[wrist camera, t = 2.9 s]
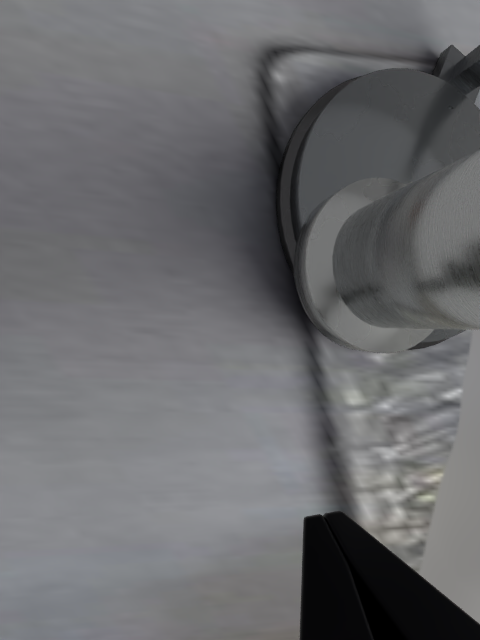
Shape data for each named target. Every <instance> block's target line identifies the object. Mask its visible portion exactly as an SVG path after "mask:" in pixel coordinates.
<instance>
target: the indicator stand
mask: <svg viewBox="0 0 480 640" xmlns="http://www.w3.org/2000/svg"><path fill="white" fill-rule="evenodd" d="M432 75H434V76H436V77H438V78H440V79H442V80H444V81H446V82H448V83H449V84H451V85H452V86H454V87H455V88H457V89H458V90H459V91H461V92H462V93H463V94H464V95H465V96H466V97H468V98H469V99H470V100H471V101H472V102H473V103H475V100H476V97H477V95H478V92H479V89H480V45H479V46H478V47H477V48H475V49H474V50H473V51H471V52H470V53H469V54H468V55H466V56H464V55H463V54H462V53H461V52H460V51H459V50H458V49H456V48H455V47H454V46H453V45H450V46H449V47H448V48H447V49H446V50H445V51H443V52H442V53H441V54H440V57H439V59H438V62H437V64H436V67H435V69H434V72H433V74H432Z"/></svg>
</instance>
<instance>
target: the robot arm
mask: <svg viewBox="0 0 480 640" xmlns="http://www.w3.org/2000/svg"><path fill="white" fill-rule="evenodd" d="M300 640H480V624H479V623H478V622H476V621H475V620H474V619H473V618H472V617H470V616H469V615H468V614H467V613H465V612H464V611H463V610H462V609H461V608H459V607H458V606H457V605H456V604H455V603H453V602H452V601H451V600H450V599H448V598H447V597H446V596H445V595H444V594H442V593H441V592H440V591H439V590H437V589H436V588H435V587H434V586H433V585H431V584H430V583H429V582H428V581H426V580H425V579H424V578H423V577H422V576H420V575H419V574H418V573H417V572H415V571H414V570H413V569H412V568H411V567H409V566H408V565H407V564H406V563H405V562H403V561H402V560H401V559H400V558H398V557H397V556H396V555H395V554H394V553H392V552H391V551H390V550H389V549H387V548H386V547H385V546H384V545H383V544H381V543H380V542H379V541H378V540H376V539H375V538H374V537H373V536H372V535H370V534H369V533H368V532H367V531H365V530H364V529H363V528H362V527H361V526H359V525H358V524H357V523H356V522H354V521H353V520H352V519H351V518H350V517H348V516H347V515H346V514H345V513H343V512H341V511H336V512H330V513H325V514H324V515H323V516H322V515H320V514H319V515H313V516H307V517H305V518H304V525H303V555H302V586H301V617H300Z"/></svg>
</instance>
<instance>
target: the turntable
mask: <svg viewBox="0 0 480 640" xmlns="http://www.w3.org/2000/svg"><path fill="white" fill-rule="evenodd" d="M478 150H480V110H479V109H478V107H477V106H476V105H475V104H474V103H473V102H472V101H471V100H470V99H469V98H468V97H466V96H465V95H464V94H463V93H462V92H461V91H459V90H458V89H457V88H455V87H454V86H452V85H451V84H449V83H448V82H446V81H444V80H442V79H440V78H438V77H436V76H434V75H431V74H428V73H425V72H422V71H417V70H411V69H396V68H392V69H385V70H379V71H375V72H373V73H370V74H367V75H364V76H360V77H357V78H354V79H351V80H348V81H346V82H344V83H342V84H340V85H338V86H336V87H335V88H333V89H331V90H330V91H329V92H328V93H326V94H325V95H324V96H323V97H321V98H320V99H319V100H318V101H317V102H316V103H315V104H314V106H313V107H312V108H311V109H310V110H309V111H308V112H307V113H306V115H305V116H304V117H303V118H302V120H301V121H300V123H299V124H298V126H297V127H296V129H295V130H294V132H293V134H292V136H291V138H290V140H289V142H288V145H287V147H286V149H285V152H284V156H283V159H282V162H281V165H280V171H279V177H278V182H277V198H276V208H277V221H278V228H279V233H280V238H281V243H282V246H283V250H284V253H285V256H286V259H287V262H288V264H289V266H290V269H291V271H292V273H293V275H294V268H293V266H294V253H295V247H296V243H297V239H298V236H299V233H300V231H301V229H302V226H303V224H304V223H305V221H306V219H307V218H308V216H309V215H310V214H311V212H312V211H313V210H314V209H315V208H316V207H317V206H318V205H319V204H320V203H321V202H322V201H324V200H325V199H327V198H328V197H330V196H332V195H333V194H335V193H336V192H338V191H340V190H341V189H343V188H344V187H346V186H348V185H350V184H352V183H354V182H356V181H359V180H363V179H367V178H388V179H392V180H396V181H399V182H401V183H404V184H406V185H409V184H411V183H413V182H415V181H417V180H419V179H421V178H423V177H425V176H427V175H429V174H431V173H433V172H435V171H437V170H439V169H442V168H444V167H446V166H448V165H450V164H452V163H454V162H456V161H458V160H460V159H462V158H464V157H466V156H468V155H470V154H472V153H474V152H476V151H478ZM463 331H465V330H460V329H434V330H433V331H432V332H431V334H430V335H428V336H427V337H426V338H425V339H424V340H423V341H421V342H420V343H418V344H417V345H415V346H413V347H411V348H409V349H407V350H412V349H420V348H425V347H429V346H432V345H435V344H438V343H440V342H442V341H444V340H446V339H448V338H450V337H453V336H455V335H457V334H459V333H461V332H463Z"/></svg>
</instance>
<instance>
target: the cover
mask: <svg viewBox="0 0 480 640" xmlns="http://www.w3.org/2000/svg"><path fill="white" fill-rule="evenodd" d="M293 268H294V280H295V285H296V290H297V293H298V296H299V299H300V302H301V304H302V306H303V309H304V311H305V312H306V314H307V316H308V317H309V319H310V320H311V322H312V323H313V324H314V325H315V327H316V328H317V329H318V330H319V331H320V332H321V333H322V334H323V335H324V336H326V337H327V338H329V339H330V340H331V341H333V342H335V343H337V344H338V345H340V346H343V347H346V348H348V349H352V350H358V351H365V352H374V353H395V352H400V351H403V350H407V349H409V348H411V347H413V346H415V345H417V344H418V343H420V342H421V341H423V340H424V339H425V338H426V337H427V336H428V335H430V334H431V332H432V331H433V330H434V329H460V330H480V150H478V151H476V152H474V153H472V154H470V155H468V156H466V157H464V158H462V159H460V160H458V161H456V162H454V163H452V164H450V165H448V166H446V167H444V168H442V169H439V170H437V171H435V172H433V173H431V174H429V175H427V176H425V177H423V178H421V179H419V180H417V181H415V182H413V183H411V184H409V185H406V184H404V183H401V182H399V181H396V180H392V179H388V178H367V179H363V180H359V181H356V182H354V183H352V184H350V185H348V186H346V187H344V188H343V189H341V190H340V191H338V192H336V193H335V194H333V195H332V196H330V197H328V198H327V199H325V200H324V201H322V202H321V203H320V204H319V205H318V206H317V207H316V208H315V209H314V210H313V211H312V212H311V214H310V215H309V216H308V218H307V219H306V221H305V223H304V224H303V226H302V229H301V231H300V233H299V236H298V239H297V243H296V247H295V253H294V266H293Z"/></svg>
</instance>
